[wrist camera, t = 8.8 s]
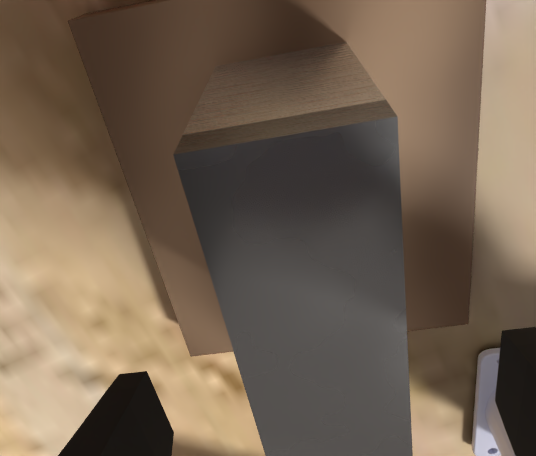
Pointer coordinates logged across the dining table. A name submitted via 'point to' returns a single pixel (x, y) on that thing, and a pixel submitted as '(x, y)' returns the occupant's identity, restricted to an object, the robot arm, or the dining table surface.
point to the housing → (306, 247)
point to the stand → (279, 42)
